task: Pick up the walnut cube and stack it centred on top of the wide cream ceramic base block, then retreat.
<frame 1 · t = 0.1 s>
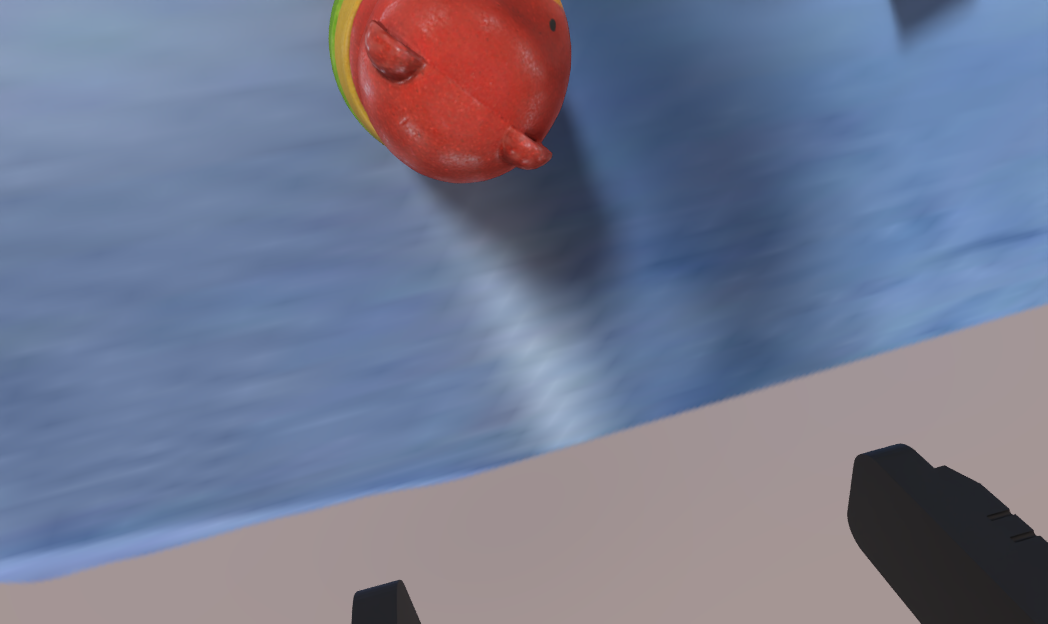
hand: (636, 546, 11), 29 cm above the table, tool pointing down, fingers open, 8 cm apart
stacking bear: (436, 32, 33), on the table
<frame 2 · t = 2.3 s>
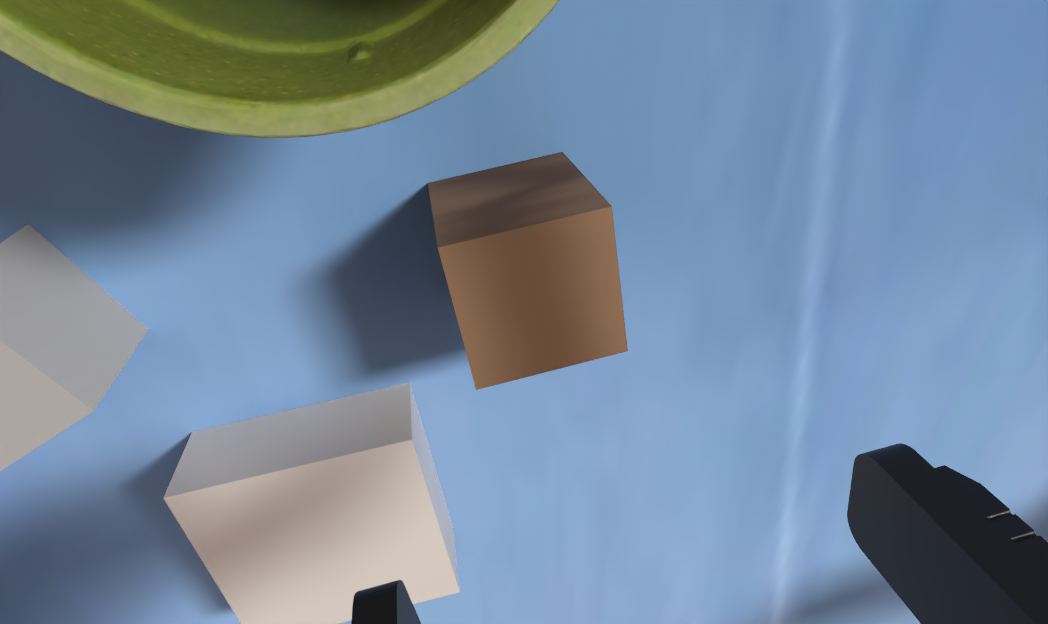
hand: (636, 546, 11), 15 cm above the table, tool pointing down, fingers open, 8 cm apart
base block: (335, 479, 28), on the table
walnut cube: (508, 230, 24), on the table
grey block: (38, 315, 22), on the table
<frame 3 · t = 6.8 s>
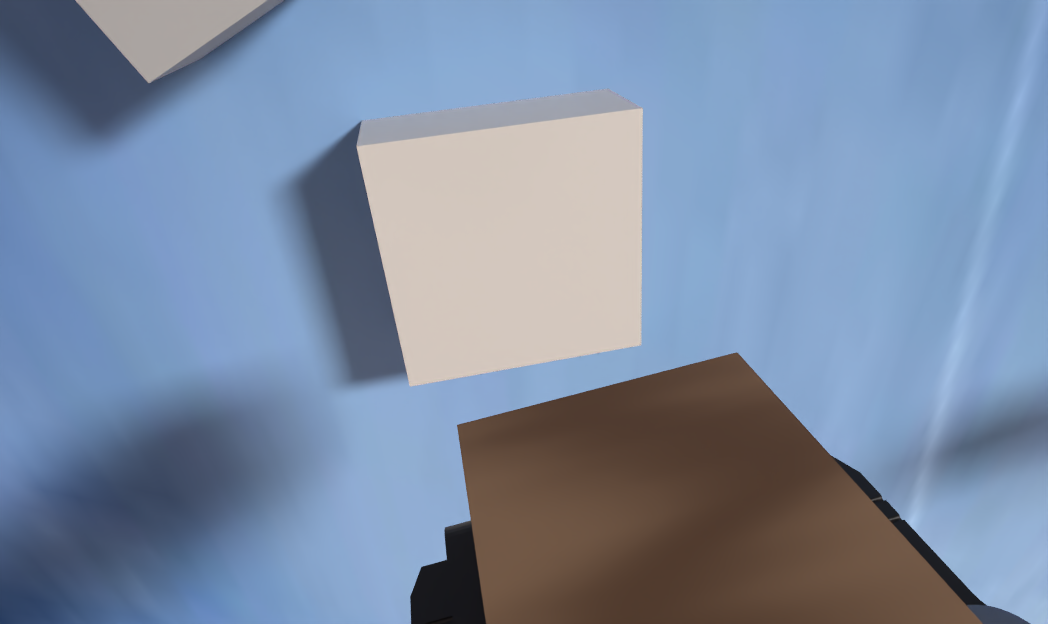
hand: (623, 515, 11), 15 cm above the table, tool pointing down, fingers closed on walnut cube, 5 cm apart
base block: (499, 218, 25), on the table
walnut cube: (613, 490, 12), point 15 cm above the table, touching gripper
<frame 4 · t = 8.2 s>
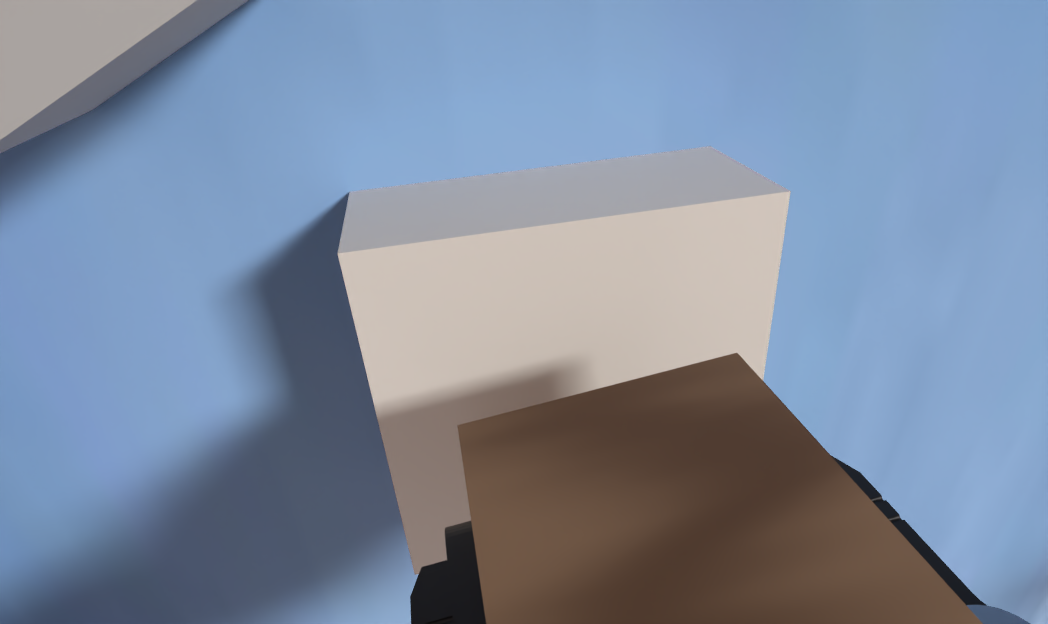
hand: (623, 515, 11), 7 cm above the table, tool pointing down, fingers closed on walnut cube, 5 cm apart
base block: (544, 320, 18), on the table
walnut cube: (614, 490, 12), point 6 cm above the table, touching gripper
when the fingers open (6 cm above the table, at t = 9.3 s): walnut cube drops 2 cm, resting on base block.
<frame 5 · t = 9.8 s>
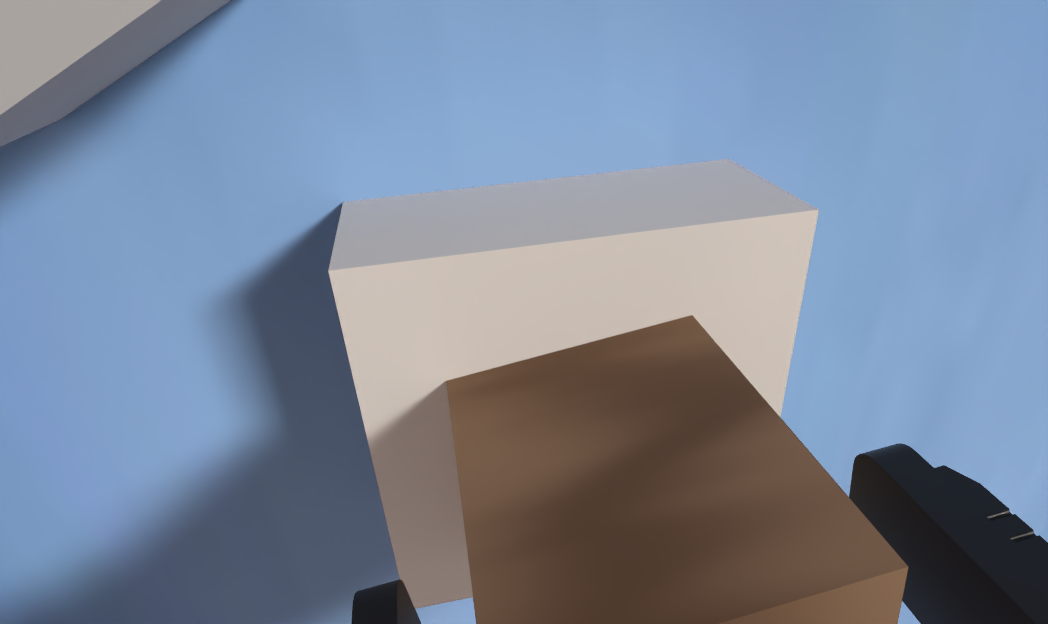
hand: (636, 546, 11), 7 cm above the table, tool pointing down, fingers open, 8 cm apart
base block: (547, 338, 17), on the table, touching walnut cube
walnut cube: (588, 441, 13), point 4 cm above the table, touching base block
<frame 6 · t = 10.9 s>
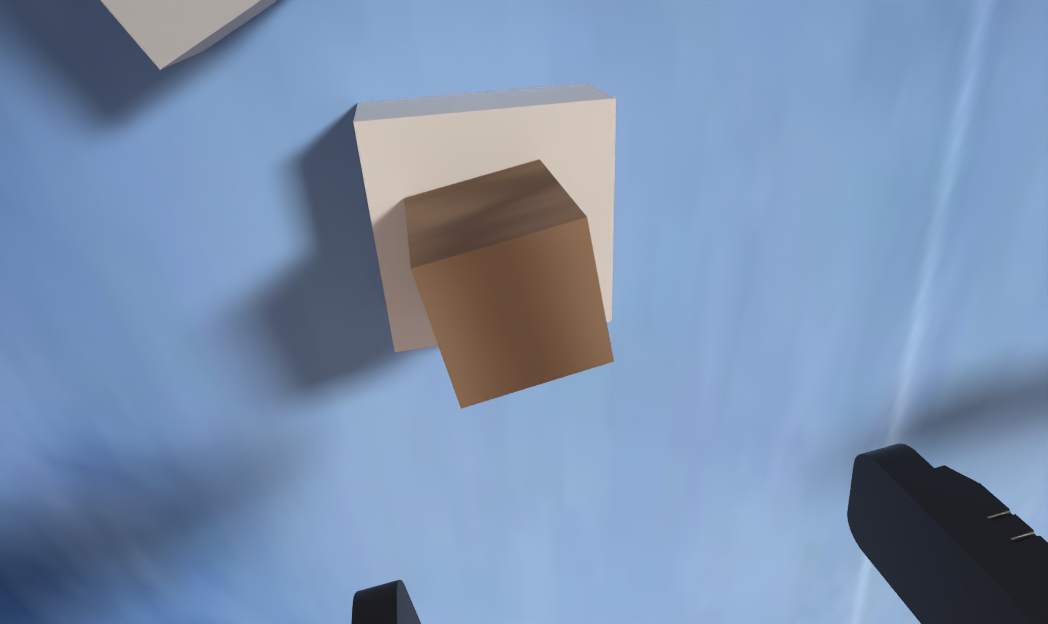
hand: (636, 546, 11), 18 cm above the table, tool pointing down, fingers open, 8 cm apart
base block: (483, 200, 27), on the table, touching walnut cube
walnut cube: (489, 241, 23), point 4 cm above the table, touching base block
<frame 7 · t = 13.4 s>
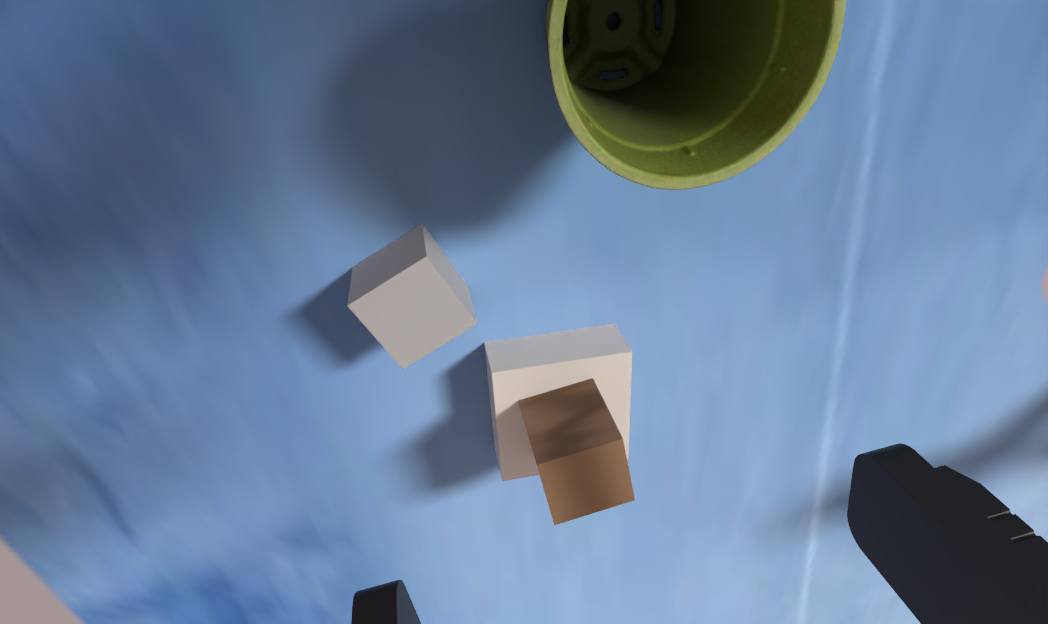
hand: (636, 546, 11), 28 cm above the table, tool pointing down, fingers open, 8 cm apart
plant pot: (609, 17, 33), on the table
base block: (551, 384, 44), on the table, touching walnut cube
walnut cube: (562, 418, 41), point 4 cm above the table, touching base block
grey block: (411, 276, 38), on the table
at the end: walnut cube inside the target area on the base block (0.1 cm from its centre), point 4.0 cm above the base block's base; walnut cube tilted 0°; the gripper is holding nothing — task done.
